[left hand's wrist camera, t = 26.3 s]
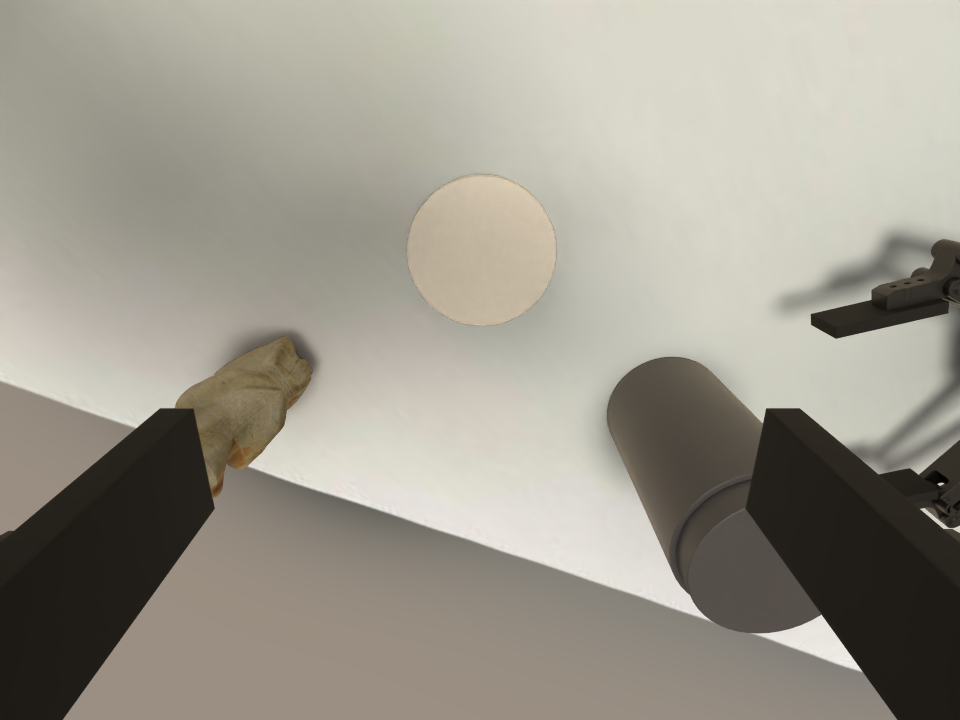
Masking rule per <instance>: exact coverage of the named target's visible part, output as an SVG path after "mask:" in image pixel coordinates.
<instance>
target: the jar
mask: <svg viewBox="0 0 960 720" xmlns="http://www.w3.org/2000/svg"><path fill="white" fill-rule="evenodd" d="M607 422H608V427H609V430H610V433H611V435H612V437H613V439H614V442H615V444H616V446H617V448H618V451H619V453H620V455H621V457H622V460H623V462H624V464H625V466H626V469H627V471H628V473H629V475H630V477H631V480H632V482H633V484H634V486H635V489H636V491H637V493H638V495H639V498H640V500H641V502H642V504H643V507H644V509H645V511H646V513H647V516H648V518H649V520H650V522H651V525H652V527H653V529H654V531H655V534H656V536H657V538H658V540H659V542H660V545H661V547H662V549H663V551H664V554H665V556H666V558H667V560H668V563H669V565H670V567H671V569H672V572H673V574H674V576H675V578H676V580H677V581H678V583H679V584H680V586H681V587H682V588H683V589H684V590H685V591H686V592H687V593H688V594H690V596H691V598H692V600H693V602H694V604H695V605H696V606H697V608H698V609H699V610H700V611H701V612H702V613H703V614H704V615H705V616H706V617H707V618H709V619H710V620H711V621H713V622H715V623H716V624H718V625H720V626H723V627H725V628H728V629H731V630H735V631H739V632H746V633H771V632H778V631H783V630H787V629H791V628H794V627H797V626H800V625H802V624H804V623H807V622H809V621H811V620H813V619H815V618H816V617H818V616H820V615H821V613H820V612H819V610H818V609H817V607H816V606H815V605H814V603H813V602H812V600H811V599H810V598H809V596H808V595H807V594H806V592H805V591H804V589H803V588H802V587H801V585H800V584H799V582H798V581H797V580H796V578H795V577H794V575H793V574H792V573H791V571H790V570H789V569H788V567H787V566H786V564H785V563H784V562H783V560H782V559H781V557H780V556H779V555H778V553H777V552H776V551H775V549H774V548H773V546H772V545H771V544H770V542H769V541H768V539H767V538H766V537H765V535H764V534H763V532H762V531H761V530H760V528H759V527H758V526H757V524H756V523H755V521H754V520H753V519H752V517H751V516H750V514H749V513H748V512H747V510H746V509H745V508H746V503H747V498H748V493H749V489H750V484H751V479H752V474H753V470H754V465H755V460H756V455H757V451H758V446H759V441H760V436H761V432H762V427H763V423H762V422H761V421H760V420H759V419H758V418H757V417H756V416H755V415H754V414H753V413H752V412H751V411H750V410H749V409H748V408H747V407H746V406H745V405H744V404H743V403H742V402H741V401H740V400H739V399H738V398H737V397H736V396H735V395H734V394H733V393H732V392H731V391H730V390H729V389H728V388H727V387H726V386H725V385H724V384H723V383H722V382H721V381H720V380H719V379H718V378H717V377H716V376H715V375H714V374H713V373H712V372H711V371H709V370H708V369H707V368H706V367H704V366H703V365H701V364H699V363H697V362H695V361H692V360H689V359H685V358H679V357H666V358H659V359H655V360H652V361H649V362H646V363H644V364H642V365H640V366H638V367H636V368H635V369H633V370H632V371H631V372H629V373H628V374H627V375H626V376H625V377H624V378H623V379H622V380H621V381H620V382H619V384H618V385H617V386H616V388H615V389H614V391H613V393H612V395H611V397H610V401H609V404H608V409H607Z"/></svg>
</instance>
